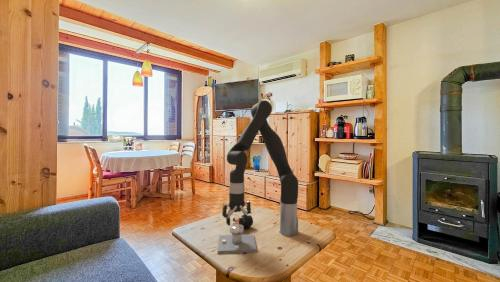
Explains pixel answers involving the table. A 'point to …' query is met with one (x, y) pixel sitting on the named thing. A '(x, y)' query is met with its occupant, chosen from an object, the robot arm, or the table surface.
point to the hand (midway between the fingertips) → (236, 223)
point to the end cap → (248, 222)
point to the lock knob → (236, 227)
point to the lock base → (242, 246)
